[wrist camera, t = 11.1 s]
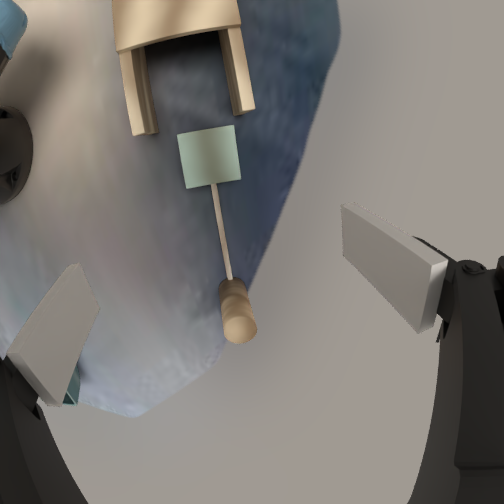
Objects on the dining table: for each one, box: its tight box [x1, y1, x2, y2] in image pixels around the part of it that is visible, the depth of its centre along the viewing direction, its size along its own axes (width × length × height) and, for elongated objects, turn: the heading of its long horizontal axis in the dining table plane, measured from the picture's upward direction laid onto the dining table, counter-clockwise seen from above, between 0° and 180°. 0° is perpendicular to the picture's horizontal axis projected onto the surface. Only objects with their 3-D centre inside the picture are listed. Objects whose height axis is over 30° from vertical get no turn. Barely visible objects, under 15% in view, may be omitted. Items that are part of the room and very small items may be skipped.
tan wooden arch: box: [112, 0, 255, 136], centre depth 24 cm, size 12×19×10 cm, turn 10°
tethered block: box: [177, 125, 257, 343], centre depth 34 cm, size 6×25×10 cm, turn 7°
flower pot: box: [41, 365, 80, 406], centre depth 39 cm, size 9×9×9 cm
